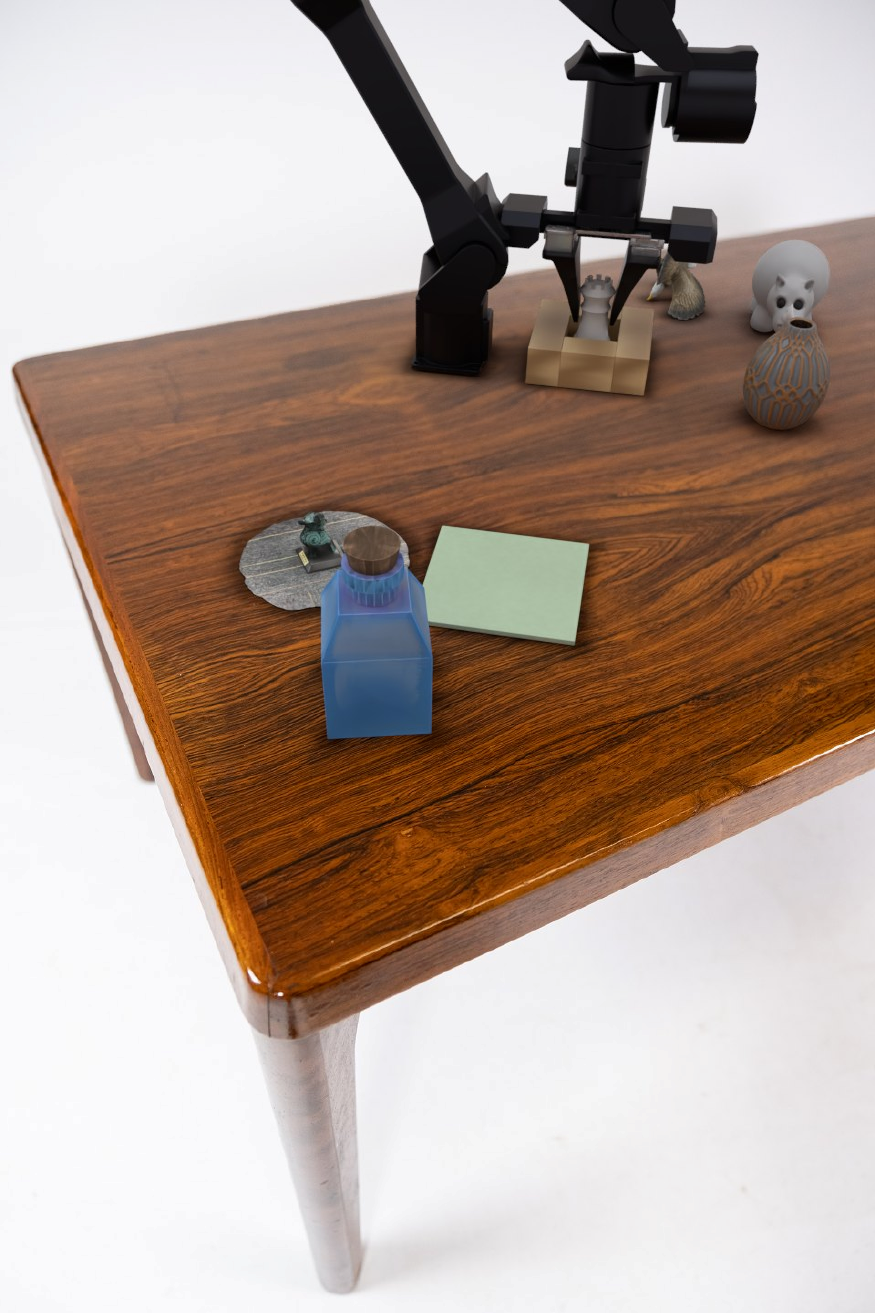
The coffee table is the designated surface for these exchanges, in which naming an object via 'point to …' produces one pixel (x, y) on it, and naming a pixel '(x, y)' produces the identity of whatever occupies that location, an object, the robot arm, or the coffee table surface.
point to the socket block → (590, 351)
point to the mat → (506, 584)
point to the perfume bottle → (375, 642)
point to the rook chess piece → (595, 308)
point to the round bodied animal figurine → (787, 284)
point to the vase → (787, 376)
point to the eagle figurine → (679, 288)
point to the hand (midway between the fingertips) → (593, 322)
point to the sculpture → (301, 557)
